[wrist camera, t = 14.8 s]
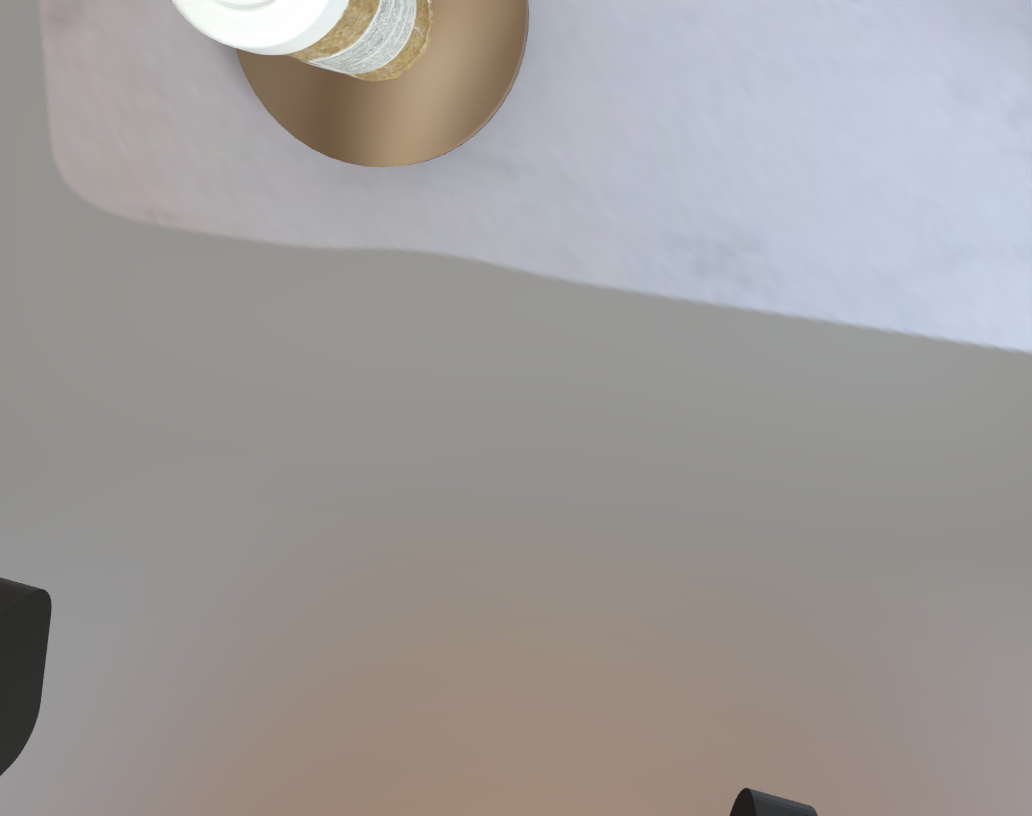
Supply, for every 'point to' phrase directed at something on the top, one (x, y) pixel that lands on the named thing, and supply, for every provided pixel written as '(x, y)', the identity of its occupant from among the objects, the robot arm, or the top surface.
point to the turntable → (402, 89)
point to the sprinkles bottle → (322, 31)
